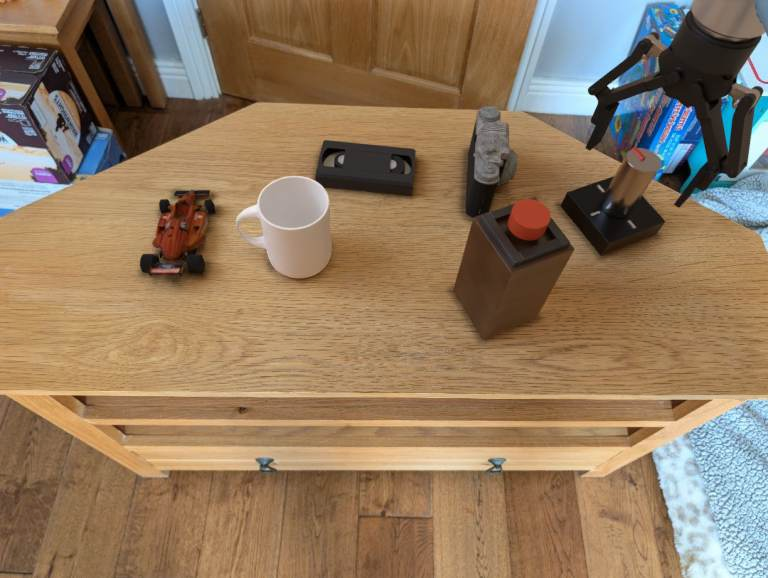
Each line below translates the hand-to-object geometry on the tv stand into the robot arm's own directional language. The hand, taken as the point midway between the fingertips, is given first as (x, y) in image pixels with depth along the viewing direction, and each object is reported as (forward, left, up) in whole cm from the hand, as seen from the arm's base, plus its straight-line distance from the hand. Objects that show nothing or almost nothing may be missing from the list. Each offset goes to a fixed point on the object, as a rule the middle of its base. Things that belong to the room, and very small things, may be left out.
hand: (635, 172), depth 74 cm
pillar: (-6, +23, -10) cm, 26 cm away
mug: (+12, +45, -10) cm, 48 cm away
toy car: (+20, +57, -10) cm, 61 cm away
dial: (0, 0, -7) cm, 7 cm away
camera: (+13, +13, -10) cm, 21 cm away
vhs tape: (+22, +29, -10) cm, 38 cm away
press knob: (-6, +23, +7) cm, 25 cm away
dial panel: (0, 0, -10) cm, 10 cm away
